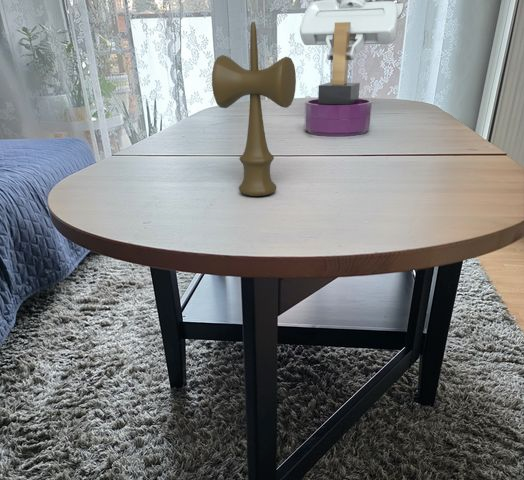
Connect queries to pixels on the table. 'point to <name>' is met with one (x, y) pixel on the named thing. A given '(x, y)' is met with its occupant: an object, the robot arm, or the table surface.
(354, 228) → the table surface
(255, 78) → the kendama
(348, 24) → the brush
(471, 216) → the table surface
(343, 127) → the bowl
